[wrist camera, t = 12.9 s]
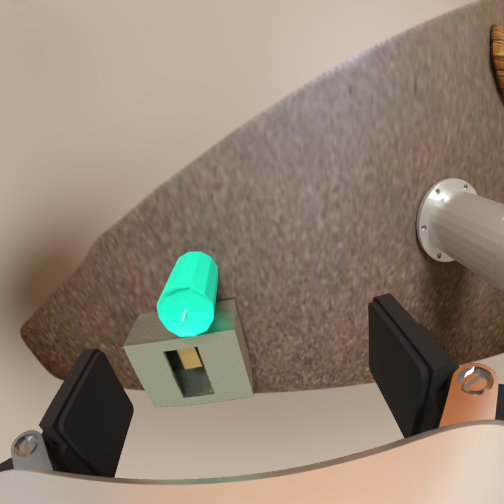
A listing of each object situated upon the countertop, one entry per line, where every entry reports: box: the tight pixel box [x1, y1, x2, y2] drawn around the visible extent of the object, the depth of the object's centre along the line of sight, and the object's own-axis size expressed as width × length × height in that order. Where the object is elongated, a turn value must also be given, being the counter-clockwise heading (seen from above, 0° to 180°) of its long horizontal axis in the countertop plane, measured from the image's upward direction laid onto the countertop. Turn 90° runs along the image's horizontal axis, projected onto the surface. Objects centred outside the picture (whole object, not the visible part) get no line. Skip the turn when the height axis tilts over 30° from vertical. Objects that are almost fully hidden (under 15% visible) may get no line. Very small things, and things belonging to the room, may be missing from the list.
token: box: [177, 347, 203, 369], centre depth 42 cm, size 2×5×5 cm
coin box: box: [123, 297, 254, 408], centre depth 41 cm, size 14×11×8 cm
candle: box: [157, 252, 218, 337], centre depth 36 cm, size 6×6×12 cm
